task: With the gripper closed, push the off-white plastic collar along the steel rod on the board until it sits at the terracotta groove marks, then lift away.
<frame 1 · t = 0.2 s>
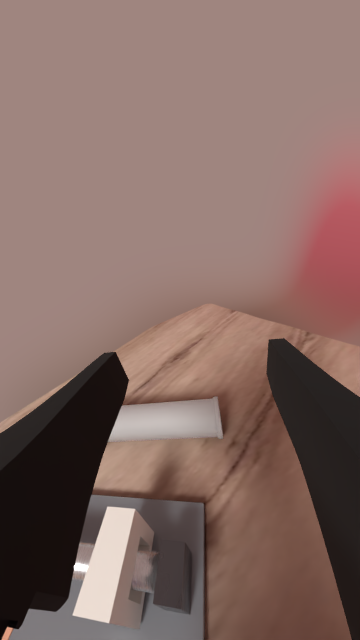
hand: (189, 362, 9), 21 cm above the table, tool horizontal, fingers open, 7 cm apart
rod board: (79, 565, 18), on the table
tube: (139, 431, 29), on the table
collar: (122, 564, 15), point 4 cm above the table, slide at 0.0 cm
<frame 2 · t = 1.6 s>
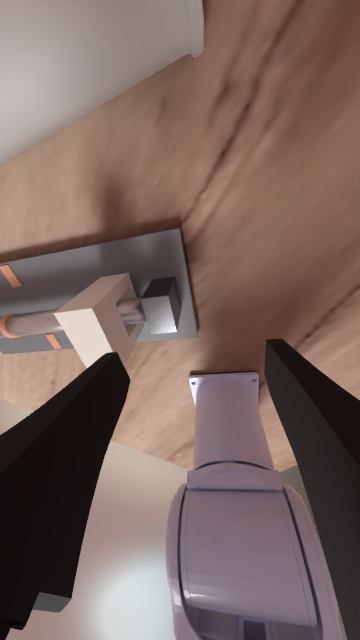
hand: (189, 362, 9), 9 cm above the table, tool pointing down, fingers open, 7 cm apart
rod board: (73, 303, 19), on the table
tube: (11, 121, 13), on the table
collar: (110, 319, 15), point 4 cm above the table, slide at 0.0 cm
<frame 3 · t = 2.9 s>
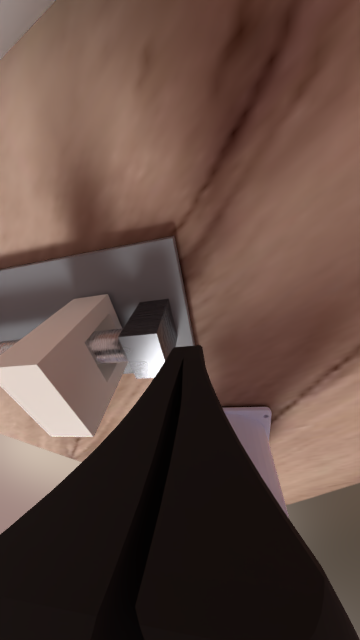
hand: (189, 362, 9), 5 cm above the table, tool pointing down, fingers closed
rod board: (45, 327, 16), on the table
collar: (82, 358, 11), point 4 cm above the table, slide at 0.0 cm
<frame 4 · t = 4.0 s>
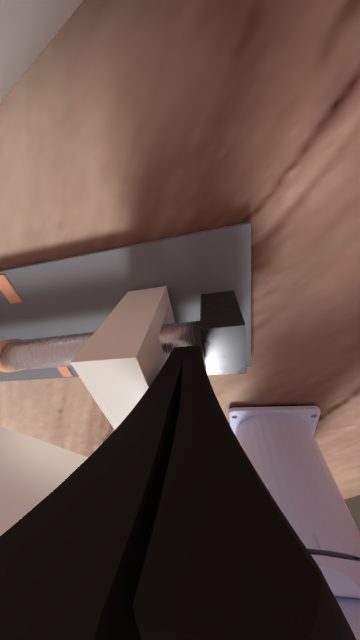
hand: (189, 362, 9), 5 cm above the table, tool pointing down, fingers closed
rod board: (89, 322, 15), on the table
tube: (0, 46, 8), on the table
collar: (145, 353, 10), point 4 cm above the table, slide at 0.2 cm, touching gripper
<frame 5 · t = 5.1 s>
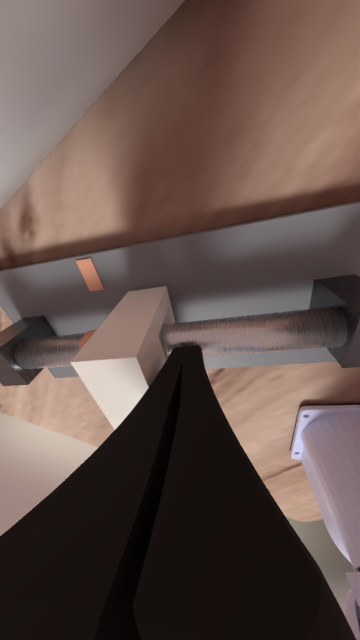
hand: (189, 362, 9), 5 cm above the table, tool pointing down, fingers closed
rod board: (167, 313, 14), on the table
collar: (145, 353, 10), point 4 cm above the table, slide at 6.6 cm, touching gripper
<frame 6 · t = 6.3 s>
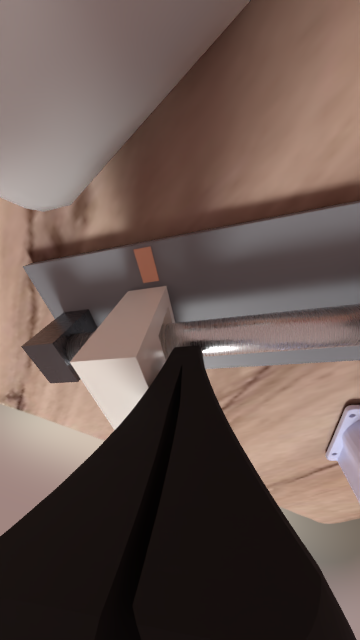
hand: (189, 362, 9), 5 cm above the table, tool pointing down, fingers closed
rod board: (219, 307, 13), on the table
collar: (145, 353, 10), point 4 cm above the table, slide at 10.3 cm, touching gripper
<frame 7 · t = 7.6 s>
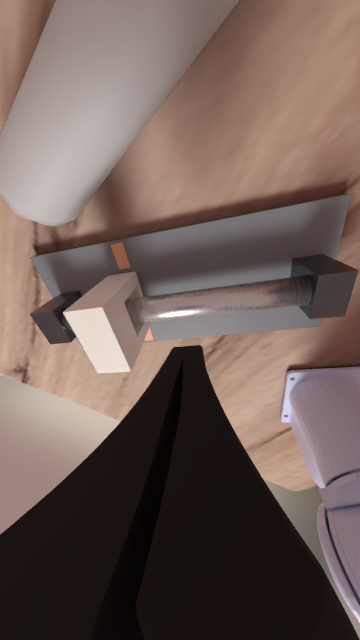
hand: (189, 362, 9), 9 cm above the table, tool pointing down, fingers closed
rod board: (179, 289, 17), on the table
tube: (166, 36, 10), on the table
collar: (118, 318, 15), point 4 cm above the table, slide at 10.3 cm
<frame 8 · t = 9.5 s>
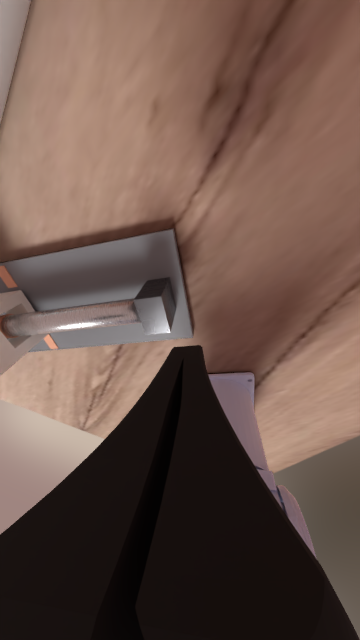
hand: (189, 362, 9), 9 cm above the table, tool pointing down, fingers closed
rod board: (69, 304, 19), on the table
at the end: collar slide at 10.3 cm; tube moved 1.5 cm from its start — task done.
